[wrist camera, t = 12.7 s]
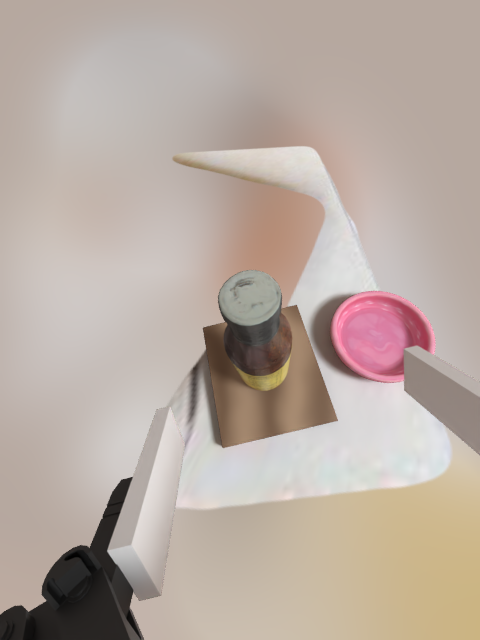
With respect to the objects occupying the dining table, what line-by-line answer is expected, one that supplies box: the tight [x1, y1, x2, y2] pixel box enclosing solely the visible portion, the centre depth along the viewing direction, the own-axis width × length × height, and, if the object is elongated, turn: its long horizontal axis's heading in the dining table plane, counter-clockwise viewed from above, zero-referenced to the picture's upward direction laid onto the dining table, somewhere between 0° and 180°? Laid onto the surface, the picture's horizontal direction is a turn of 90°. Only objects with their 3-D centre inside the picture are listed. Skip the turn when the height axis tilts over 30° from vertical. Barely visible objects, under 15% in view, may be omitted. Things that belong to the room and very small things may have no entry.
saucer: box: [330, 291, 435, 383], centre depth 34 cm, size 12×12×3 cm
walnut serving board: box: [203, 305, 338, 448], centre depth 35 cm, size 14×16×2 cm
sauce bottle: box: [218, 270, 292, 391], centre depth 25 cm, size 7×6×20 cm
